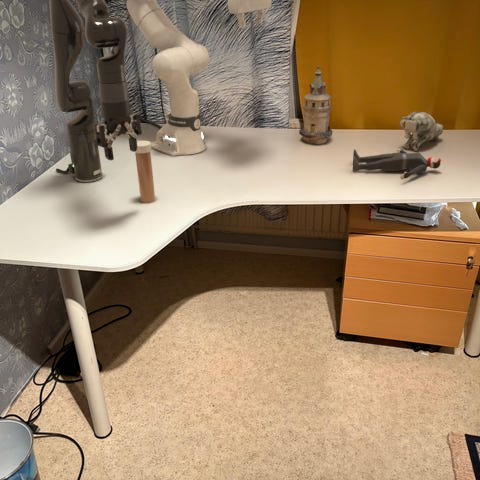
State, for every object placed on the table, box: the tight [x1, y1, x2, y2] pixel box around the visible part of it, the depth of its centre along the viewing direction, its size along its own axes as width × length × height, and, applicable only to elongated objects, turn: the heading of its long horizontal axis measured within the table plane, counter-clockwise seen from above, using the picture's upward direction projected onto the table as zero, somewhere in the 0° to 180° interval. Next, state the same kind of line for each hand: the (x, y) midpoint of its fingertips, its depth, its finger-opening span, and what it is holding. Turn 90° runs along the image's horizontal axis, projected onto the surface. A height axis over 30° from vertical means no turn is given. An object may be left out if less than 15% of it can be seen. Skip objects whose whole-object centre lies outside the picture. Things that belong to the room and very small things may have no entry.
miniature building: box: [298, 65, 333, 145], centre depth 213 cm, size 13×14×30 cm
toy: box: [352, 148, 442, 180], centre depth 190 cm, size 26×6×30 cm
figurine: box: [399, 111, 444, 152], centre depth 210 cm, size 10×19×20 cm
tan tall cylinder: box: [134, 151, 156, 204], centre depth 168 cm, size 5×5×18 cm
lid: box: [134, 140, 152, 154], centre depth 164 cm, size 5×5×2 cm
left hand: (122, 155), depth 151 cm, fingers open, 8 cm apart
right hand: (250, 25), depth 175 cm, fingers open, 8 cm apart
